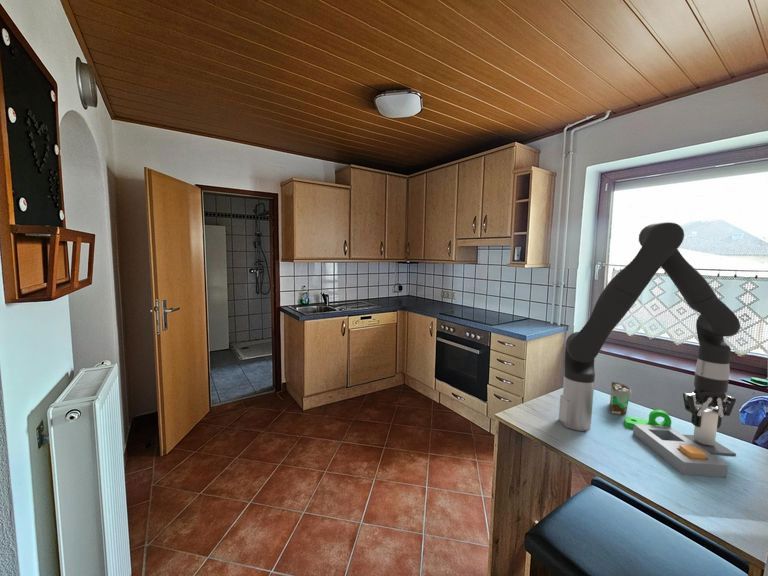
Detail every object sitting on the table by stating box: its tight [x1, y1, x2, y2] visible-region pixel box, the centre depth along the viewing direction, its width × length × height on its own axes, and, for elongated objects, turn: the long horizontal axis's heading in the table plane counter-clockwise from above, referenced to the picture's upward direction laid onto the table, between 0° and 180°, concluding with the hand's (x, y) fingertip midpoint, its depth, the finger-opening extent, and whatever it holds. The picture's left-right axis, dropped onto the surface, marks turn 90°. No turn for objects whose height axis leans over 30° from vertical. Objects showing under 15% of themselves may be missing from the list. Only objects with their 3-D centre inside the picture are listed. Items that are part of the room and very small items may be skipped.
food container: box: [609, 380, 633, 416], centre depth 127 cm, size 12×6×10 cm, turn 148°
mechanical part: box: [624, 409, 672, 429], centre depth 115 cm, size 12×6×8 cm, turn 61°
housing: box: [632, 424, 729, 478], centre depth 100 cm, size 11×21×4 cm, turn 174°
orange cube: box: [679, 445, 706, 460], centre depth 94 cm, size 4×4×4 cm
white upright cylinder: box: [692, 408, 719, 445], centre depth 104 cm, size 5×5×10 cm
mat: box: [682, 434, 737, 456], centre depth 105 cm, size 10×10×1 cm
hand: (705, 426), depth 104 cm, fingers closed on white upright cylinder, 5 cm apart
